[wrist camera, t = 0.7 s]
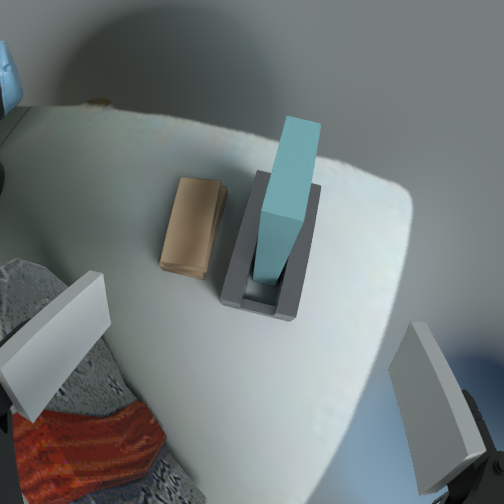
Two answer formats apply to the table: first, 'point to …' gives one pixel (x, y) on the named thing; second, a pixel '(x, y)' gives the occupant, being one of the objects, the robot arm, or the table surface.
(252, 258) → the board rack
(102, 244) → the table surface
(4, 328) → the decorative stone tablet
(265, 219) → the teal board
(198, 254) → the block
